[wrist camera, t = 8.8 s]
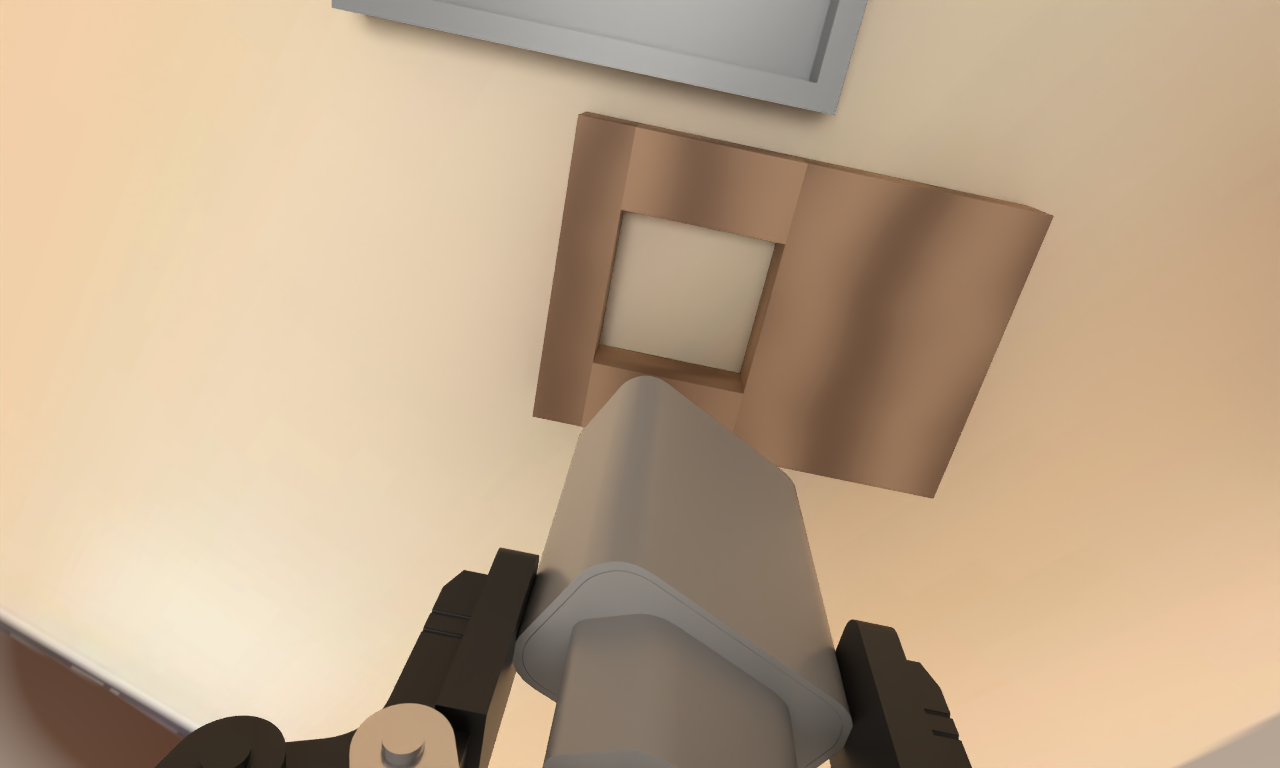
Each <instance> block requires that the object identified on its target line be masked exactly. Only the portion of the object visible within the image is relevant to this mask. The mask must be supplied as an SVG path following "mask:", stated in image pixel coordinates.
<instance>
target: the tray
mask: <svg viewBox="0 0 1280 768" xmlns="http://www.w3.org/2000/svg"><path fill="white" fill-rule="evenodd" d="M866 4H867V0H332V8H336V9H341V10H345V11H350V12H355V13H359V14H364V15H369V16H373V17H378V18H383V19H387V20H392V21H397V22H401V23H406V24H411V25H415V26H420V27H425V28H429V29H434V30H439V31H443V32H448V33H453V34H457V35H462V36H467V37H471V38H476V39H480V40H485V41H490V42H494V43H499V44H504V45H508V46H513V47H518V48H522V49H527V50H532V51H536V52H541V53H546V54H550V55H555V56H560V57H564V58H569V59H574V60H578V61H583V62H588V63H592V64H597V65H602V66H606V67H611V68H616V69H620V70H625V71H630V72H634V73H639V74H644V75H648V76H653V77H658V78H662V79H667V80H671V81H676V82H681V83H685V84H690V85H695V86H699V87H704V88H709V89H713V90H718V91H723V92H727V93H732V94H737V95H741V96H746V97H751V98H755V99H760V100H765V101H769V102H774V103H779V104H783V105H788V106H793V107H797V108H802V109H807V110H811V111H816V112H821V113H825V114H830V115H835V112H836V108H837V105H838V101H839V98H840V94H841V91H842V87H843V84H844V80H845V77H846V73H847V70H848V66H849V63H850V59H851V56H852V52H853V49H854V45H855V42H856V38H857V35H858V31H859V28H860V24H861V21H862V18H863V14H864V11H865V7H866Z"/></svg>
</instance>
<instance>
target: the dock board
mask: <svg viewBox="0 0 1280 768" xmlns="http://www.w3.org/2000/svg"><path fill="white" fill-rule="evenodd" d="M624 210H625V211H629V212H634V213H639V214H644V215H648V216H653V217H658V218H663V219H667V220H672V221H677V222H682V223H686V224H691V225H696V226H700V227H705V228H710V229H715V230H719V231H724V232H729V233H734V234H738V235H743V236H748V237H753V238H757V239H762V240H767V241H772V242H776V245H775V248H774V252H773V256H772V259H771V263H770V267H769V270H768V274H767V277H766V281H765V285H764V288H763V292H762V296H761V299H760V303H759V307H758V310H757V314H756V317H755V321H754V325H753V328H752V332H751V336H750V339H749V343H748V347H747V350H746V354H745V357H744V361H743V365H742V368H741V372H740V373H735V372H730V371H725V370H720V369H715V368H711V367H706V366H701V365H696V364H691V363H686V362H682V361H677V360H672V359H667V358H662V357H658V356H653V355H648V354H643V353H638V352H633V351H629V350H624V349H619V348H614V347H609V346H604V345H600V344H599V342H600V336H601V331H602V326H603V320H604V315H605V309H606V304H607V299H608V293H609V288H610V282H611V277H612V272H613V266H614V261H615V255H616V250H617V245H618V239H619V234H620V228H621V223H622V218H623V212H624ZM1052 219H1053V216H1052V215H1050V214H1047V213H1045V212H1042V211H1039V210H1037V209H1034V208H1032V207H1029V206H1026V205H1021V204H1017V203H1012V202H1007V201H1003V200H998V199H993V198H989V197H984V196H979V195H974V194H970V193H965V192H960V191H956V190H951V189H946V188H942V187H937V186H932V185H928V184H923V183H918V182H914V181H909V180H904V179H900V178H895V177H890V176H885V175H881V174H876V173H871V172H867V171H862V170H857V169H853V168H848V167H843V166H839V165H834V164H829V163H825V162H820V161H815V160H810V159H806V158H801V157H796V156H792V155H787V154H782V153H778V152H773V151H768V150H764V149H759V148H754V147H750V146H745V145H740V144H735V143H731V142H726V141H721V140H717V139H712V138H707V137H703V136H698V135H693V134H689V133H684V132H679V131H675V130H670V129H665V128H660V127H656V126H651V125H646V124H642V123H637V122H632V121H628V120H623V119H618V118H614V117H609V116H604V115H600V114H595V113H590V112H584V113H582V114H579V115H578V121H577V127H576V134H575V141H574V147H573V154H572V160H571V167H570V174H569V180H568V187H567V193H566V200H565V206H564V213H563V220H562V226H561V233H560V239H559V246H558V253H557V259H556V266H555V272H554V279H553V285H552V292H551V299H550V305H549V312H548V318H547V325H546V332H545V338H544V345H543V351H542V358H541V364H540V371H539V378H538V384H537V391H536V397H535V404H534V411H533V417H538V418H543V419H547V420H552V421H557V422H562V423H567V424H572V425H577V426H582V427H586V426H587V425H588V424H589V422H590V421H591V420H592V419H593V418H594V417H595V416H596V414H597V413H598V412H599V411H600V410H601V409H602V408H603V406H604V405H605V404H606V403H607V402H608V401H609V399H610V398H611V397H612V396H613V395H614V394H615V393H616V391H617V390H618V389H619V388H620V387H621V386H622V385H623V384H624V383H625V382H627V381H629V380H630V379H632V378H636V377H639V376H653V377H656V378H659V379H661V380H663V381H664V382H666V383H668V384H669V385H670V386H672V387H673V388H674V389H676V390H677V391H678V392H680V393H681V394H682V395H684V396H685V397H686V398H688V399H689V400H690V401H691V402H693V403H694V404H695V405H697V406H698V407H699V408H701V409H702V410H703V411H705V412H706V413H707V414H708V415H710V416H711V417H712V418H714V419H715V420H716V421H718V422H719V423H720V424H722V425H723V426H724V427H725V428H727V429H728V430H729V431H731V432H732V433H733V434H735V435H736V436H737V437H739V438H740V439H741V440H743V441H744V442H745V443H746V444H748V445H749V446H750V447H752V448H753V449H754V450H756V451H757V452H758V453H760V454H761V455H762V456H763V457H765V458H766V459H767V460H769V461H770V462H771V463H773V464H774V465H775V466H777V467H782V468H787V469H791V470H796V471H801V472H806V473H811V474H816V475H821V476H826V477H830V478H835V479H840V480H845V481H850V482H855V483H860V484H865V485H870V486H874V487H879V488H884V489H889V490H894V491H899V492H904V493H909V494H913V495H918V496H923V497H928V498H934V496H935V493H936V491H937V489H938V486H939V484H940V482H941V479H942V477H943V475H944V472H945V470H946V468H947V465H948V463H949V461H950V458H951V456H952V453H953V451H954V449H955V446H956V444H957V442H958V439H959V437H960V435H961V432H962V430H963V428H964V425H965V423H966V421H967V418H968V416H969V414H970V411H971V409H972V406H973V404H974V402H975V399H976V397H977V395H978V392H979V390H980V388H981V385H982V383H983V381H984V378H985V376H986V374H987V371H988V369H989V367H990V364H991V362H992V360H993V357H994V355H995V352H996V350H997V348H998V345H999V343H1000V341H1001V338H1002V336H1003V334H1004V331H1005V329H1006V327H1007V324H1008V322H1009V320H1010V317H1011V315H1012V313H1013V310H1014V308H1015V305H1016V303H1017V301H1018V298H1019V296H1020V294H1021V291H1022V289H1023V287H1024V284H1025V282H1026V280H1027V277H1028V275H1029V273H1030V270H1031V268H1032V266H1033V263H1034V261H1035V259H1036V256H1037V254H1038V251H1039V249H1040V247H1041V244H1042V242H1043V240H1044V237H1045V235H1046V233H1047V230H1048V228H1049V226H1050V223H1051V221H1052Z"/></svg>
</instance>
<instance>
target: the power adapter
mask: <svg viewBox="0 0 1280 768" xmlns="http://www.w3.org/2000/svg"><path fill="white" fill-rule="evenodd" d="M513 665H514V667H515V669H516V672H517V673H518V674H519V675H520V676H521V678H522V679H523V680H524V681H525V682H526V683H528V684H529V685H530V686H531V687H533V688H534V689H535V690H537V691H539V692H540V693H542V694H543V695H545V696H547V697H548V698H550V699H551V700H553V701H555V702H556V703H557V704H556V708H555V713H554V718H553V722H552V727H551V732H550V736H549V741H548V745H547V750H546V755H545V759H544V764H543V768H817V767H818V766H820V765H821V764H822V763H824V762H825V761H827V760H828V759H829V758H831V757H832V756H833V755H835V754H836V753H837V752H839V751H840V750H841V749H842V748H843V747H844V745H845V743H846V740H847V738H848V736H849V734H850V731H851V729H852V727H853V724H852V719H851V715H850V710H849V706H848V702H847V698H846V694H845V690H844V686H843V682H842V678H841V674H840V669H839V665H838V661H837V657H836V653H835V649H834V645H833V641H832V637H831V633H830V628H829V624H828V620H827V616H826V612H825V608H824V604H823V600H822V596H821V592H820V588H819V583H818V579H817V575H816V571H815V567H814V563H813V559H812V555H811V551H810V547H809V542H808V538H807V534H806V530H805V526H804V522H803V518H802V514H801V510H800V506H799V501H798V497H797V493H796V489H795V485H794V484H793V482H792V480H791V479H790V478H789V477H788V476H787V475H786V474H785V473H784V472H783V471H782V470H780V469H779V468H778V467H777V466H775V465H774V464H773V463H771V462H770V461H769V460H767V459H766V458H765V457H763V456H762V455H761V454H760V453H758V452H757V451H756V450H754V449H753V448H752V447H750V446H749V445H748V444H746V443H745V442H744V441H743V440H741V439H740V438H739V437H737V436H736V435H735V434H733V433H732V432H731V431H729V430H728V429H727V428H725V427H724V426H723V425H722V424H720V423H719V422H718V421H716V420H715V419H714V418H712V417H711V416H710V415H708V414H707V413H706V412H705V411H703V410H702V409H701V408H699V407H698V406H697V405H695V404H694V403H693V402H691V401H690V400H689V399H688V398H686V397H685V396H684V395H682V394H681V393H680V392H678V391H677V390H676V389H674V388H673V387H672V386H670V385H669V384H668V383H666V382H664V381H663V380H661V379H659V378H656V377H653V376H639V377H636V378H632V379H630V380H629V381H627V382H625V383H624V384H623V385H622V386H621V387H620V388H619V389H618V390H617V391H616V393H615V394H614V395H613V396H612V397H611V398H610V399H609V401H608V402H607V403H606V404H605V405H604V406H603V408H602V409H601V410H600V411H599V412H598V413H597V414H596V416H595V417H594V418H593V419H592V420H591V421H590V422H589V424H588V425H587V426H586V427H585V428H584V429H583V430H582V432H581V434H580V436H579V439H578V442H577V445H576V449H575V452H574V455H573V458H572V461H571V465H570V468H569V471H568V474H567V478H566V481H565V484H564V487H563V490H562V494H561V497H560V500H559V503H558V507H557V510H556V513H555V516H554V519H553V523H552V526H551V529H550V532H549V535H548V539H547V542H546V545H545V548H544V552H543V555H542V558H541V561H540V564H539V568H538V571H537V575H536V578H535V581H534V585H533V588H532V591H531V594H530V597H529V601H528V604H527V607H526V610H525V614H524V617H523V620H522V623H521V626H520V630H519V633H518V636H517V639H516V643H515V649H514V656H513Z"/></svg>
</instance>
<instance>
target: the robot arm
mask: <svg viewBox="0 0 1280 768" xmlns="http://www.w3.org/2000/svg"><path fill="white" fill-rule="evenodd" d="M538 563H539V555H535V554H530V553H525V552H520V551H515V550H510V549H505V548H499V550H498V552H497V554H496V557H495V559H494V562H493V564H492V566H491V569H490V571H489V574H488V575H486V574H481V573H476V572H471V571H466V570H463V571H462V572H461V573H460V574H458V575H457V576H456V577H455V578H454V579H452V580H451V581H450V582H449V583H447V584H446V585H445V586H444V587H443V588H442V590H441V592H440V595H439V597H438V599H437V601H436V603H435V605H434V607H433V609H432V613H430V615H429V617H428V619H427V621H426V623H425V626H424V629H423V632H421V634H420V636H419V638H418V640H417V642H416V644H415V646H414V648H413V650H412V652H411V654H410V656H409V659H408V661H407V663H406V665H405V667H404V669H403V671H402V673H401V675H400V677H399V679H398V681H397V683H396V685H395V687H394V689H393V692H392V694H391V696H390V698H389V700H388V701H387V703H386V705H385V706H384V708H383V709H382V710H380V711H378V712H376V713H374V714H373V715H371V716H370V717H369V718H367V719H366V720H365V721H364V722H363V723H362V724H361V725H360V727H359V728H358V729H356V730H354V731H351V732H349V733H347V734H343V735H340V736H336V737H331V738H325V739H314V740H304V741H294V742H285V739H284V737H283V735H282V733H281V731H280V730H279V729H278V728H277V727H276V726H275V725H274V724H272V723H271V722H269V721H267V720H265V719H262V718H259V717H254V716H233V717H226V718H223V719H219V720H216V721H213V722H211V723H208V724H206V725H204V726H202V727H200V728H198V729H197V730H195V731H194V732H192V733H191V734H189V735H188V736H187V737H185V738H184V739H183V740H182V741H181V742H180V743H179V744H178V745H177V746H176V747H175V748H174V749H173V750H172V751H171V752H170V753H169V754H168V755H167V756H166V757H165V758H164V759H163V760H162V761H161V762H160V763H159V764H158V765H157V766H156V767H155V768H488V765H489V761H490V758H491V754H492V751H493V748H494V744H495V741H496V738H497V734H498V731H499V727H500V724H501V721H502V717H503V714H504V710H505V707H506V704H507V700H508V697H509V694H510V690H511V687H512V683H513V680H514V677H515V673H516V669H515V667H514V665H513V656H514V649H515V643H516V639H517V636H518V633H519V630H520V626H521V623H522V620H523V617H524V614H525V610H526V607H527V604H528V601H529V597H530V594H531V591H532V588H533V585H534V581H535V578H536V575H537V569H538ZM835 653H836V657H837V661H838V665H839V669H840V674H841V678H842V682H843V686H844V690H845V694H846V698H847V702H848V706H849V710H850V715H851V719H852V724H853V727H852V729H851V731H850V734H849V736H848V738H847V740H846V743H845V745H844V747H843V748H842V749H841V750H840V751H839V752H837V753H836V754H835V755H833V756H832V757H831V758H829V760H830V765H831V768H972V767H971V764H970V762H969V759H968V757H967V754H966V752H965V749H964V747H963V744H962V741H960V740H959V738H958V737H959V734H958V731H957V729H956V726H955V724H954V721H953V719H951V718H950V711H949V709H948V706H947V704H946V701H945V699H944V696H943V694H942V691H941V689H940V687H939V686H938V684H937V683H936V682H935V681H934V680H933V678H932V677H931V676H930V675H929V673H928V672H927V671H926V670H925V668H924V667H923V666H922V665H921V664H920V663H919V662H914V661H909V660H906V657H905V654H904V651H903V649H902V646H901V643H900V640H899V638H898V635H897V633H896V631H895V629H893V628H892V627H888V626H883V625H878V624H873V623H868V622H863V621H858V620H850V621H849V622H848V623H847V625H846V627H845V629H844V631H843V634H842V636H841V639H840V641H839V644H838V646H837V649H836V651H835Z"/></svg>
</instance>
